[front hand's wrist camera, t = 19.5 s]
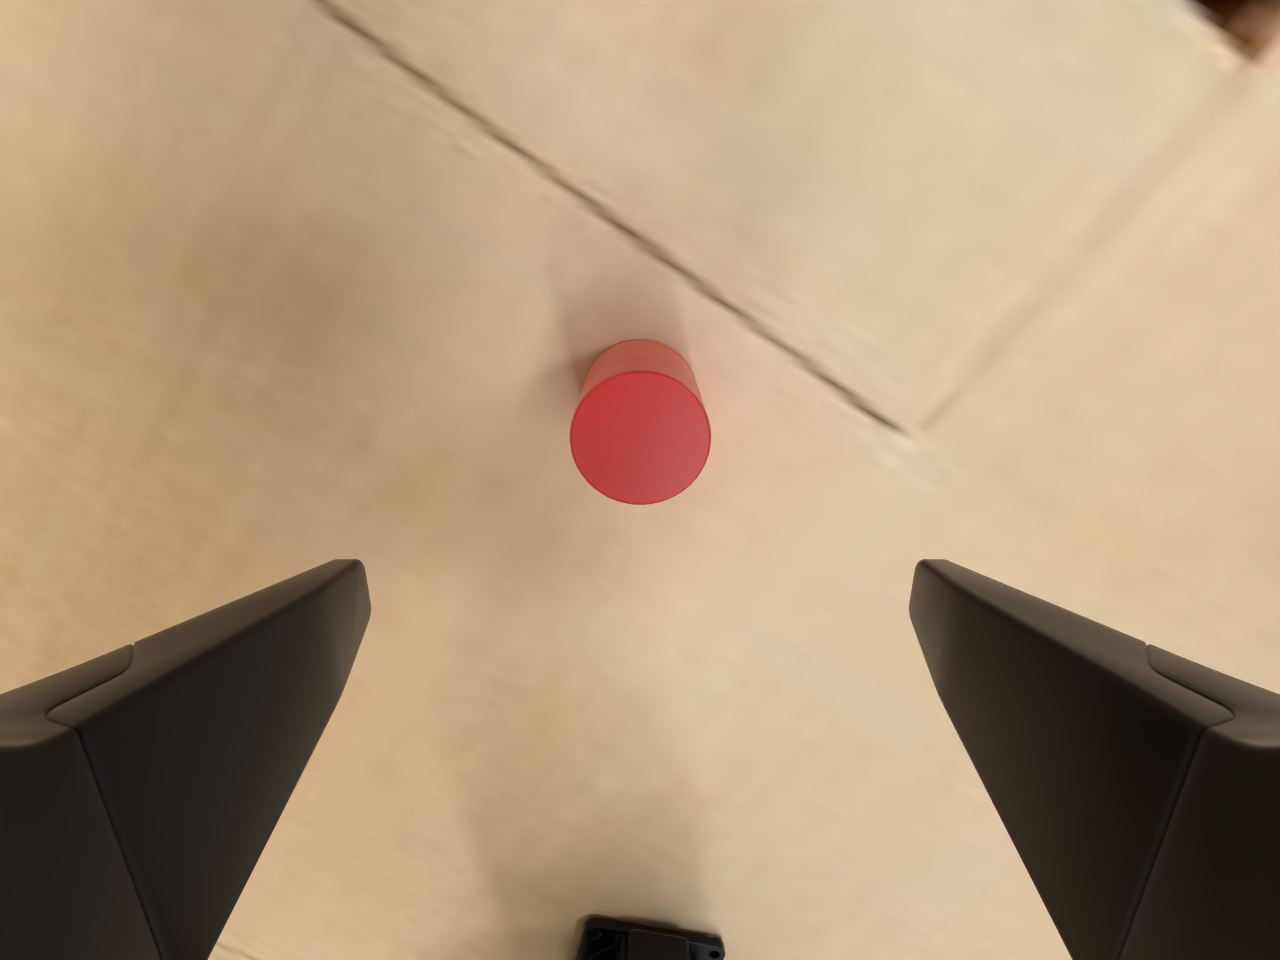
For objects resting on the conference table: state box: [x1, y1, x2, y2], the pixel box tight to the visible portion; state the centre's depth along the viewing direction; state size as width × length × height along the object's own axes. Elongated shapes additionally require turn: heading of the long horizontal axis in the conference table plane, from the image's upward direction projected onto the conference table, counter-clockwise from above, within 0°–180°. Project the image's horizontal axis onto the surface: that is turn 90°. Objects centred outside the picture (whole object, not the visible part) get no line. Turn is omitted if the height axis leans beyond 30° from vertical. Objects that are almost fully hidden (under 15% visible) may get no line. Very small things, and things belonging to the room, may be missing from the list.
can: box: [570, 339, 711, 505], centre depth 20 cm, size 4×4×5 cm
